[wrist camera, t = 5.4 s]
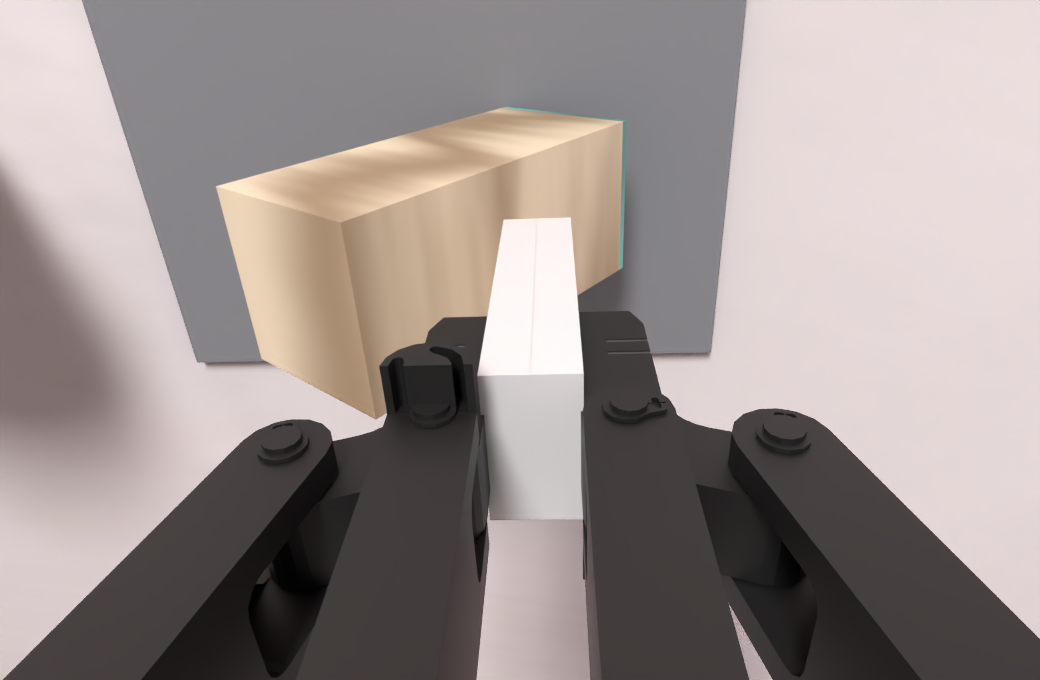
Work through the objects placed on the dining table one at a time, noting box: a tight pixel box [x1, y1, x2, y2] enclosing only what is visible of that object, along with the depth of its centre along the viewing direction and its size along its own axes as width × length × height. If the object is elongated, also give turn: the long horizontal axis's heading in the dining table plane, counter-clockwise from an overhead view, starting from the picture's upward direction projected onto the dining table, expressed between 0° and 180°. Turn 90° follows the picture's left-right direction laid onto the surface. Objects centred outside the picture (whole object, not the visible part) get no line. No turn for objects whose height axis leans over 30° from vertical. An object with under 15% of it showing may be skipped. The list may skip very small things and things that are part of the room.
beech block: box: [216, 107, 627, 419], centre depth 19 cm, size 4×4×10 cm
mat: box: [82, 0, 746, 362], centre depth 23 cm, size 20×18×1 cm
